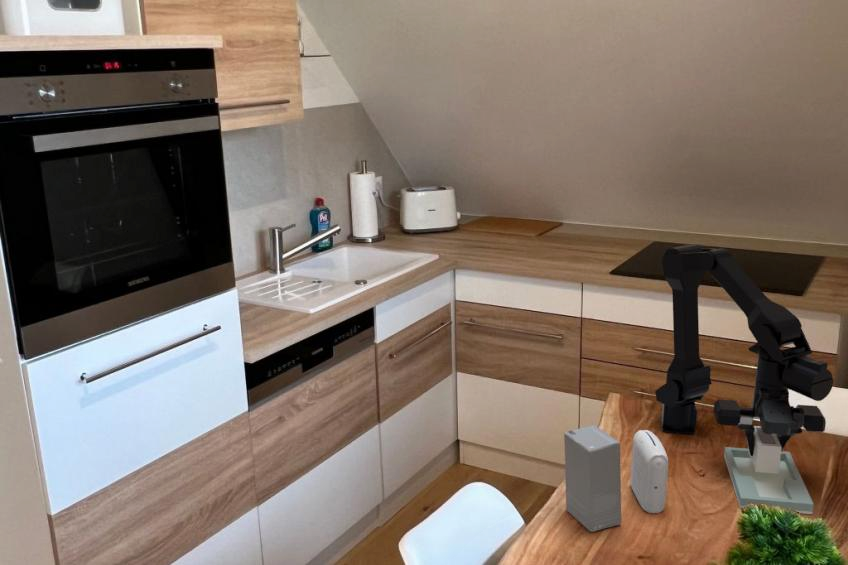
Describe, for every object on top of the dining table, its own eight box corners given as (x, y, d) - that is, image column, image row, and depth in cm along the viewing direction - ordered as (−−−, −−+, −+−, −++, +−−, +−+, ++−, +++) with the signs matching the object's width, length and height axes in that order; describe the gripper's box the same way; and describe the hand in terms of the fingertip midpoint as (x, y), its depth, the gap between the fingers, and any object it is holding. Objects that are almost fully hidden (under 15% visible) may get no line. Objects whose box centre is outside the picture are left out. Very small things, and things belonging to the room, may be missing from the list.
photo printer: (667, 513, 144) (672, 450, 141) (643, 514, 144) (647, 451, 140) (650, 483, 154) (654, 423, 150) (627, 483, 154) (631, 424, 150)
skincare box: (621, 525, 141) (626, 442, 136) (586, 535, 138) (590, 451, 134) (594, 501, 148) (598, 421, 144) (560, 509, 146) (563, 429, 141)
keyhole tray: (740, 507, 145) (741, 498, 145) (724, 455, 163) (725, 446, 163) (812, 514, 143) (813, 504, 143) (788, 460, 161) (789, 451, 160)
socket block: (755, 471, 152) (758, 444, 151) (748, 451, 160) (750, 424, 158) (778, 473, 152) (781, 446, 150) (769, 452, 159) (772, 426, 158)
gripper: (725, 395, 145) (717, 473, 150) (839, 402, 142) (827, 482, 146) (716, 370, 156) (709, 444, 160) (822, 376, 152) (812, 452, 157)
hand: (763, 456), depth 155 cm, fingers closed on socket block, 4 cm apart
